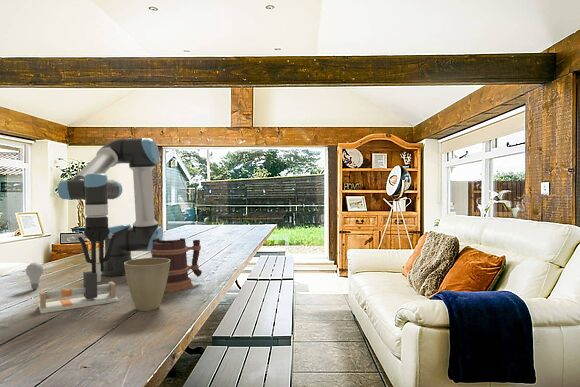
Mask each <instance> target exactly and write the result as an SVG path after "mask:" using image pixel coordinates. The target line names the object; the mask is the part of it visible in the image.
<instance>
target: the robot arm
mask: <svg viewBox="0 0 580 387" xmlns="http://www.w3.org/2000/svg"><path fill="white" fill-rule="evenodd" d="M159 158H160V151H159V148H158V145H157V143H156V142H155V140H154V139H152V138H144V137H142V138H139V137H138V138H118V139H115V140H112V141H110V142H108V143H106V144H104V145H103V146H102V147H100V148H99V149H98V151H97V152H96V155H95V157H93V158H92V160H90V161H89V162H88V163H87V164H86V165H85V166H84V167H83V168H82V169H80V171H78V173H76V175H74V177H72V178H71V179H66V180H65V179H63V180H61V181H59V183H58V185H57V194H58V197H59V198H60V199H62V200H70V201H72V200H73V201H74V200H75V201H76V200H77V201H78V200H80V201H81V200H84V215H85V216H86V217H85V218H84V221H85V222H84V227H85V228H84V231H83V234H81V235H78V236H77V238H76V239H77V240H78V242H79V243H80V245H81V250H82V252H83V255H84V259H85V262H86V263H89V264H91V271H92V272H93V273H95V272H96V273H97V283H99V282H101V281H102V276H104V277H105V276H106V277H118V276H119V277H121V276H126V273H125V267H124V262H126V261H129V260H133V258H132V252H151V251H150V250H151V249H152V245H153V239H155V238H159V240H163V238H164V237H163V236H164V230H163V228H162V226H159V221H157V220H156V219H155V205H154V204H155V202H154V200H155V199H154V183H153V182H154V180H153V170H154V169H155V168H156V164H157V163H159V161H160V159H159ZM119 164H128V165H129V169H130V170H132V175H133V176H132V178H133V180H132V181H133V194H134V196H133V197H134V208H135V209H134V213H135V221H134V222H133V224H132V226H131V223H130V224H129V223H128V224H127V223H125V224H121V225H114V226H109V217H108V214H109V209H108V208H109V205H108V204H109V202H108V201H109V200H114V199H118V198H119V197H120V196H121V195H122V193H123V185H122V183H120V182H119V181H117V180H115V179H108V176H107V174H106V173H107V172H108V170H110V169H111V168H113V167H115V166H116V165H119ZM86 239H87V240H89V242H90V254H89V250H88V248H87V244H86V242H85V241H86ZM97 243H98V262H97Z"/></svg>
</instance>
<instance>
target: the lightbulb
mask: <svg viewBox="0 0 580 387" xmlns="http://www.w3.org/2000/svg"><path fill="white" fill-rule="evenodd" d="M25 273H26V275H27V278H28V279H29V283H30V287H31V289H32V290H37V289H39V286H40V280H41V276H42V274H44V266H43V265H42V264H41V262H40V263H39V262H32V263H30V264H27V266H26V268H25Z"/></svg>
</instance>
